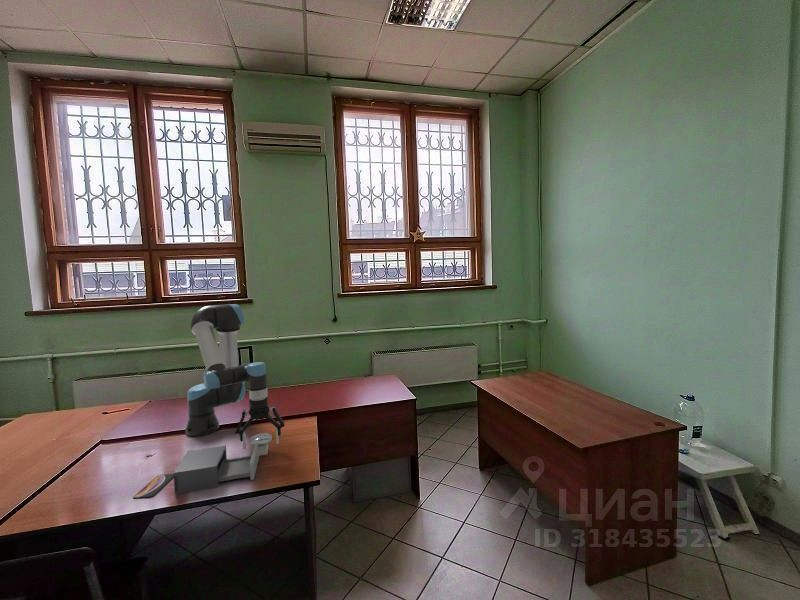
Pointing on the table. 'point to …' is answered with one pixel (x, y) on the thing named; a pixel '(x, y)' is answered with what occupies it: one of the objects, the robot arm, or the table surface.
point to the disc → (261, 439)
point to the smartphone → (154, 486)
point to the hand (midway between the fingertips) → (261, 445)
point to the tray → (239, 467)
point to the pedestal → (263, 450)
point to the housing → (199, 469)
